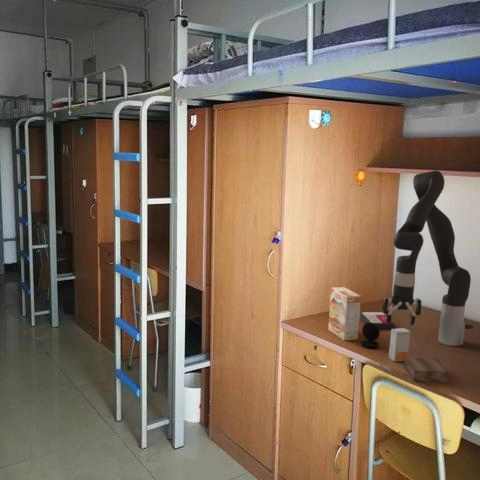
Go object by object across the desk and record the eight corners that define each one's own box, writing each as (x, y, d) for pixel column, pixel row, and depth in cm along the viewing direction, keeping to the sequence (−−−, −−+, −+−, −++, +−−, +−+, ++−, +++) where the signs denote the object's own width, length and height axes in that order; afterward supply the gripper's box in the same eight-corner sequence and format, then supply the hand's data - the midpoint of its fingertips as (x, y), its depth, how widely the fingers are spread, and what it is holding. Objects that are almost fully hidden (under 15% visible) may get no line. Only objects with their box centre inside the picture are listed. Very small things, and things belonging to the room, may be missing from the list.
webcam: (382, 346, 227) (384, 323, 225) (372, 350, 222) (374, 327, 220) (366, 341, 233) (368, 318, 231) (356, 345, 228) (358, 322, 226)
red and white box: (371, 322, 248) (361, 311, 262) (370, 331, 249) (360, 319, 263) (395, 322, 249) (383, 311, 263) (394, 331, 250) (382, 319, 264)
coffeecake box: (327, 329, 246) (330, 287, 243) (341, 328, 248) (344, 286, 245) (343, 340, 232) (346, 296, 229) (358, 339, 234) (361, 295, 231)
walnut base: (435, 368, 205) (437, 358, 205) (447, 382, 194) (448, 371, 193) (403, 367, 206) (404, 357, 205) (413, 380, 194) (414, 370, 193)
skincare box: (394, 362, 211) (396, 332, 209) (388, 357, 215) (390, 328, 213) (408, 361, 212) (410, 331, 210) (402, 356, 216) (404, 327, 214)
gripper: (420, 282, 212) (415, 322, 215) (383, 280, 213) (379, 320, 215) (425, 287, 205) (421, 328, 208) (387, 284, 205) (383, 326, 208)
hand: (400, 324), depth 211 cm, fingers open, 8 cm apart
